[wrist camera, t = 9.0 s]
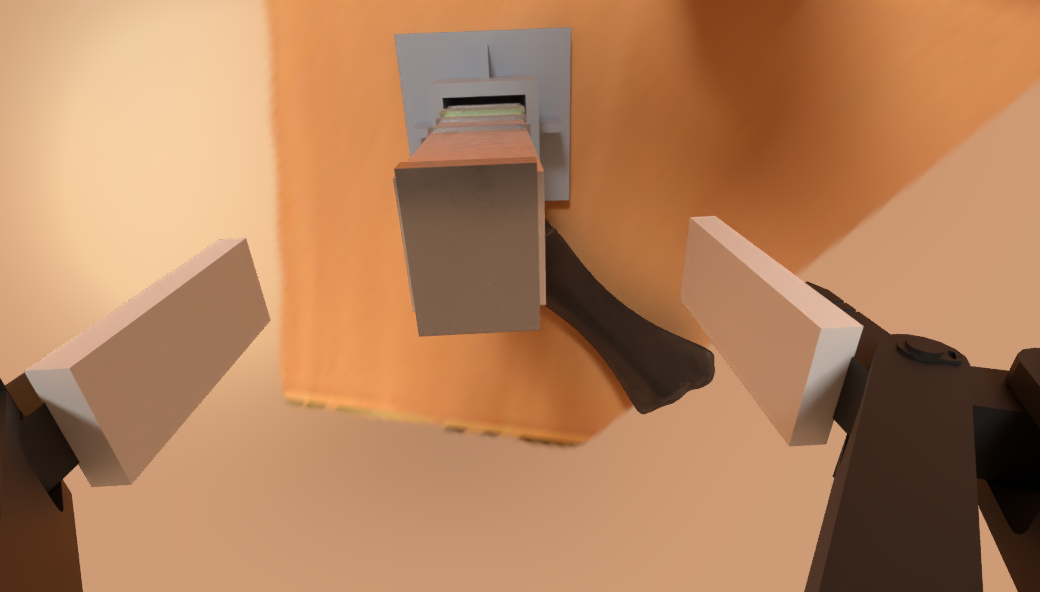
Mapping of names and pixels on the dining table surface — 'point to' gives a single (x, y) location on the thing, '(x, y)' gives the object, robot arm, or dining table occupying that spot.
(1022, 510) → the robot arm
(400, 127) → the dining table surface
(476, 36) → the stand base
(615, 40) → the dining table surface
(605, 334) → the dark brown bone
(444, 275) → the column
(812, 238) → the dining table surface
